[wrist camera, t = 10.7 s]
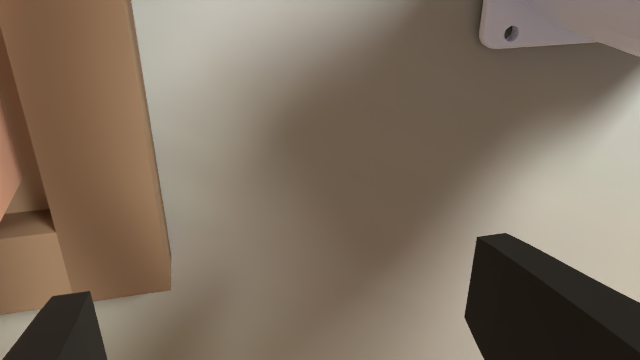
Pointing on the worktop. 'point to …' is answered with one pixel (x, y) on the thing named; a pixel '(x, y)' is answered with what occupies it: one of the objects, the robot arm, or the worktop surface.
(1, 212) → the bar
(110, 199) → the board
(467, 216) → the worktop surface
